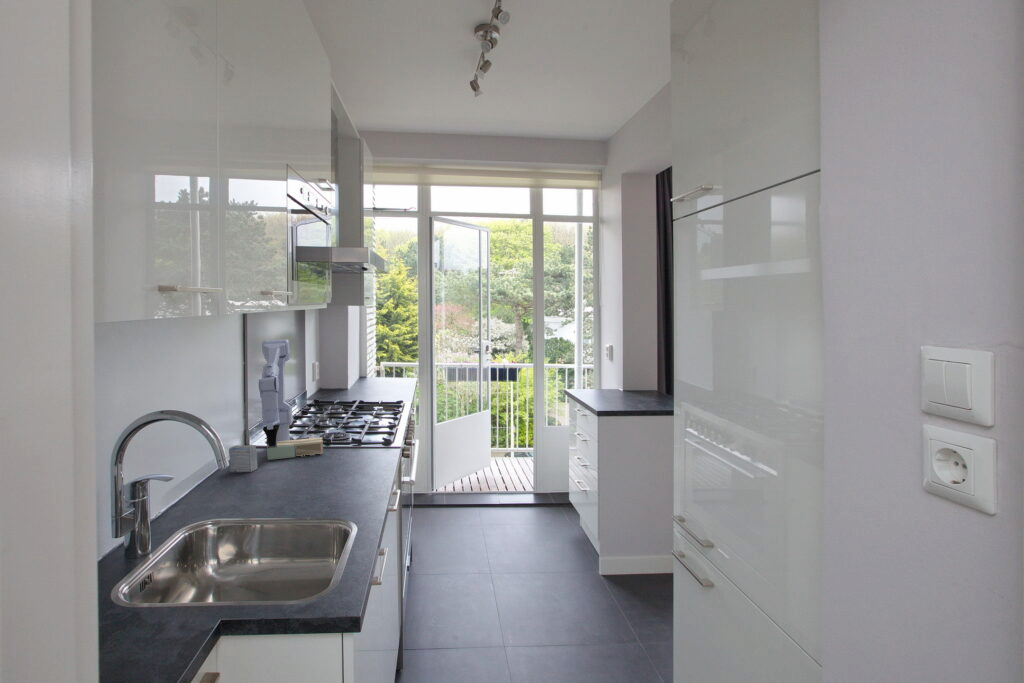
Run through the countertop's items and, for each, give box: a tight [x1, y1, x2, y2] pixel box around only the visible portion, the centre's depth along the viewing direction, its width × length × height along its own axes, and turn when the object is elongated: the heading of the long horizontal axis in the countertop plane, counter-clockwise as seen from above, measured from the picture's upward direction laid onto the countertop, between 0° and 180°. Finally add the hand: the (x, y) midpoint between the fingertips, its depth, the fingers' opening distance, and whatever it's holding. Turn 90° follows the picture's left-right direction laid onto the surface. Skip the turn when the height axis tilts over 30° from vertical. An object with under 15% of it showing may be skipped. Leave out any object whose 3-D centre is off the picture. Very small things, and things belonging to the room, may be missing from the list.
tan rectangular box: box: [266, 437, 324, 458], centre depth 239 cm, size 8×20×5 cm, turn 108°
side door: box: [266, 441, 297, 461], centre depth 233 cm, size 1×10×8 cm, turn 108°
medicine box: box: [228, 444, 259, 473], centre depth 217 cm, size 8×4×9 cm, turn 84°
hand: (272, 445), depth 232 cm, fingers closed on side door
